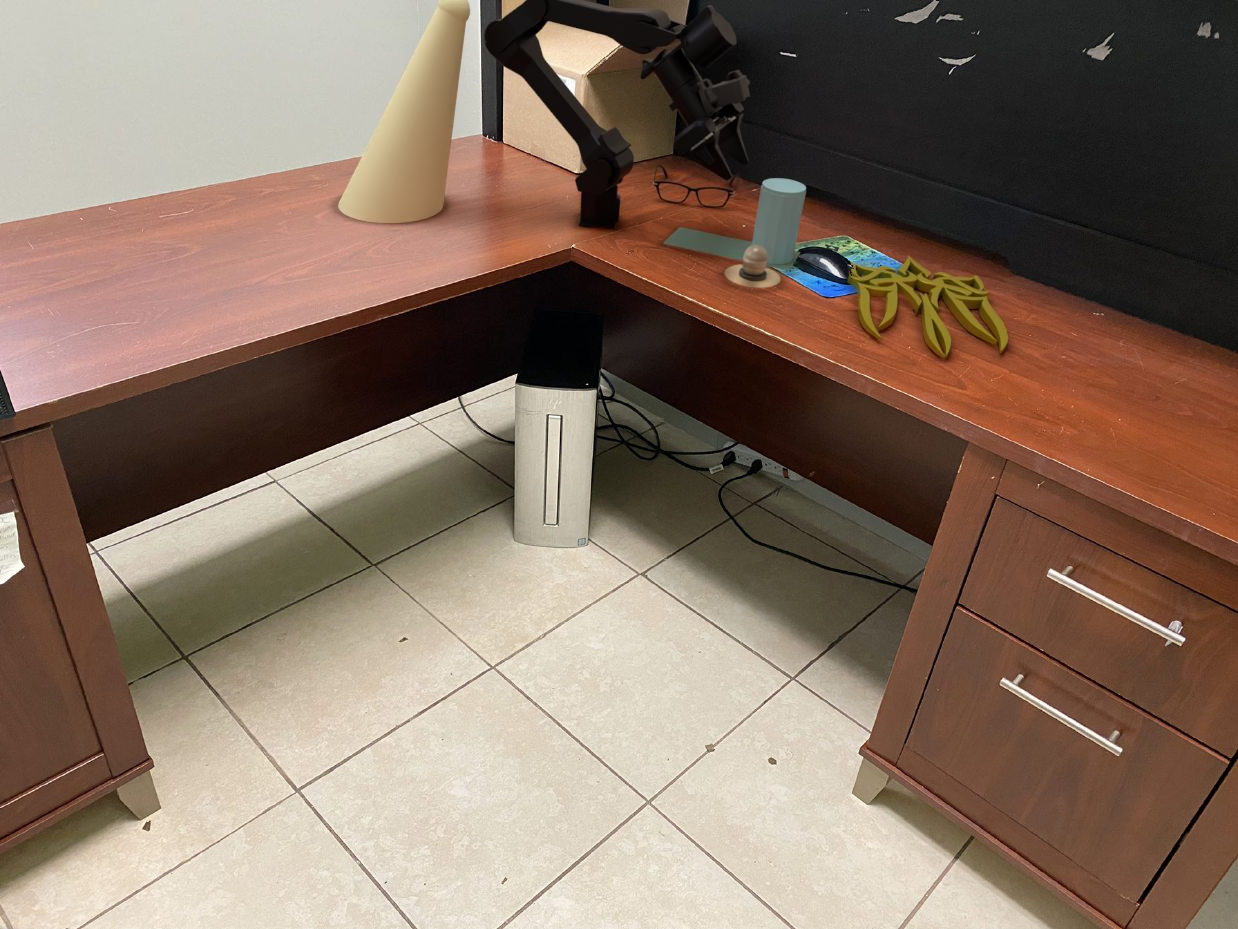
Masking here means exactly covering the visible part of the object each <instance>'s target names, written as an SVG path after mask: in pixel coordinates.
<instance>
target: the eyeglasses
mask: <svg viewBox="0 0 1238 929" xmlns="http://www.w3.org/2000/svg"><path fill="white" fill-rule="evenodd" d="M658 167H659V168H661V169H662V171H663V175H664V178H665V179H666V178H668V177H669V175H668V172H667V170H666V168H665V167H664V166H663V165H660V164H658V165H657V166H655V171H654V176H653V181H652V184H653V186H654V187H655V190H656V192H657V195H658V197H659V199H660V200H661V201H664V202H666V203H669V204H670V203H671V204H683V203H684V202H685V201H686V200H687V199H688V198H689V197H690V194H691V192H695V199H696V200H697V201H698V203H699V205H700V206H702V207H706V208H715V209H716V208H723V207H725V205H726V204H727V203H728V202H729V199H730V198H731V197H732V196H733V195H734V194H735V192H736V190H737V187H738V184H739V181H740V177H741V176H740V174H739V173H738V174H737V173H736V174H735V175H733V176H732V178H731V179H730V180H729V182H728V185H729V186H732V185H733V182H734V181H735V179H736V178H737V177H738V178H737V182H736V184H735V187H734V189H730V188H726V187H718V186H702V187H696V188H695V187H694V188H693V187H690V186H688V185H685V184H682V183H679V182H674V181H668V180H656V177H657V176H656V175H657V171H658V170H657V169H658ZM661 184H670V185H676V186H679V187H681V188H684V189H687V194H686V196H685V197H684V198H683V200H681V201H672V200H667V199H665V198H662V194H661V193H660V185H661ZM702 190H720V191H723V192H727V197H726V200H725V201H724V203H723V204H722V205H716V206H715V205H706V204H703V203H702V201H701V199H700V197H699V191H702Z"/></svg>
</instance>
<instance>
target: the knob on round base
mask: <svg viewBox="0 0 1238 929" xmlns="http://www.w3.org/2000/svg"><path fill="white" fill-rule="evenodd" d="M767 259H768V254H767V251H766V249H765V248H764V247H762V246H760V245H752V246H750V247H748V248H747V249H746V251H745V253H744V256H743V261H741V262H742V264H741V263H740V264H734V265H731V266H728V267H727V268H726V269H725V270H724V272H723V274H724V277H725V278H726V280H728V281H729V282H731V283H733V284H735V285H738V286H741V287H746V288H751V289H768V288H773V287H776V286H778V285H779V284H780V283H781V276H780V274H779V273H778V272H776V271H775V270H773V269H771V268H769V267H767V266H766V265H767Z"/></svg>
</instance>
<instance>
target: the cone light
mask: <svg viewBox="0 0 1238 929" xmlns="http://www.w3.org/2000/svg"><path fill="white" fill-rule="evenodd" d="M470 15H471V6H470V2H469V1H468V0H438V2H437V7H436V9H435V11H434V13H433V15H432V17H430V18H431V19H430V20H429V22H428V24H427V26H426V29H425V30H424V32H423V34H422V36H421V38H420V40H419V42H418V44H417V46H416V48H415V50H414V52H413V54H412V56H411V58H410V60H409V62H408V64H407V66H406V68H405V69H404V72H403V74H402V76H401V79H400V80H399V82H398V84H397V87H396V88H395V90H394V92H393V94H392V96H391V97H390V100H389V102H388V104H387V106H386V108H385V110H384V112H383V114H382V116H381V118H380V120H379V122H378V124H377V126H376V128H375V130H374V132H373V134H372V136H371V138H370V140H369V142H368V144H367V145H366V148H365V149H364V151H363V154H362V156H361V158H360V160H359V162H358V164H357V165H356V168H355V170H354V172H353V174H352V176H351V177H350V179H349V181H348V183H347V186H346V187H345V189H344V192H343V194H342V196H341V198H340V199H339V202H338V205H337V208H338V210H339V212H341V213H342V214H343V215H345V216H347V217H348V218H352V219H354V220H358V221H363V222H369V223H374V224H404V223H412V222H418V221H423V220H426V219H428V218H431V217H433V216H435V215H437V214H439V213H440V212H441V211H442V210H443V208H444V203H445V194H446V187H447V179H448V172H449V171H448V170H449V162H450V155H451V149H452V148H451V147H452V138H453V130H454V123H455V115H456V107H457V98H458V91H459V84H460V83H459V82H460V75H461V67H462V58H463V51H464V42H465V36H466V35H465V33H466V27H467V22H468V20H469V18H470Z"/></svg>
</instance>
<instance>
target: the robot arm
mask: <svg viewBox="0 0 1238 929" xmlns="http://www.w3.org/2000/svg"><path fill="white" fill-rule="evenodd" d="M548 22H550V23H554V24H557V25H562V26H566V27H570V28H574V29H578V30H581V31H585V32H590V33H594V34H598V35H601V36H605V37H608V38H610V39H611V40H613V41H614V42H615V43H617V44H618V45H619V46H621V47H623V48H625V49H627V50H630V51H632V52H634V53H635V54H639V55H647V54H650V53H652V52H655V51H657V50H660V49H662V48H664V47H668V46H670V45H673V44H675V43H677V42H680V44H678V45H677V46H676V47H675V48H673V49H672V50H670V49H668V48H664V49H663V50H661V51H660V52H659V53H658V54H657V55H655V56H654V57H653V58H649V57H647V58H645V59H643V60H642V61H641V64H642V65H641V71H640V75H639V78H640V80H643V81H644V80H645V79H647V78H649V77H652V75H654V77H655V78H656V80H657V81H658V83H659V84H660V86H661V88H662V89H663V90H664V92H665V93H666V95H667V97H668V98H669V100H670V102H671V103H670V104H669V105H668V107H669V109H670V110H671V111H672V112H674V111H677V112H678V114H679V115H680V117H681V119H682V120H683V122H684V123H685V125H686V126H684V127H683V130H682V131H681V132H679V133H678V134H676V135H675V136H674V137H673V145H672V147H673V148H674V150H675V151H676V153H677V154H678V156H679V157H681V156H682V155H684V154H685V153H686V152H688V151H689V150H690V152H688V153H686V154H685V155H684V158H685V159H689V160H691V161H693V162H694V163H697V164H698V165H700V166H702V167H704V168H705V169H707V170H708V171H710V172H711V173H713V174H715V175H716V176H718V177H720V178H721V179H723V180H725V181H726V182H727V181H730V180H731V179H732V178H733V175H732V171H731V169H730V167H729V165H728V163H727V161H726V159H725V157H724V155H723V153H722V150H723V151H725V153H727V154H728V155H729V156H730V157H732V159H734V160H735V161H736V162H737V163H738V164H740V165H741V166H743V167H744V166H745V167H746V165H748V164H749V163H750V161H749V157H748V153H747V150H746V147H745V143H744V140H743V137H742V133H741V123H742V119H743V117H744V113H741V112H743V111H744V110H745V108H744V106H743V104H742V102H744V101H746V99H747V98H750V97H751V94H750V88H749V86H750V85H751V81H750V80H749V79H748V78H747V75H746V74H745V75H743V72H741V70H739V69H737V70H732V71H729V73H727V74H726V78H725V81H722V82H719V83H716V84H713V82H712V80H711V79H710V78H707V77H705V78H702V76H701V75H700V73H699V72H698V70H697V69H696V67H699V66H700V67H702V68H703V69H704V68H705V69H707V68H709V67H710V65H712V64H713V63H714V62H716V61H717V60H718V59H720V58H721V57H723V55H724V54H725V53H727V52H728V51H730V50H731V49H732V48H733V47H734V46H736V45H737V36H736V33H735V31H734V29H733V27H732V25H731V24H730V22H729V21H728V20H726V19H725V18H724V17H723V15H721V14H720V13H719V12H717V11H716V10H715V8H714V6H713V5H711V4H710V5H708V6H705V7H704V8H703V9H701V11H700V12H699V13H698V14H697V16H696V17H695V18H694V19H692V20H691V21H690V22H689V23H688V24H684V23H681V22H678V21H676V20H673V19H671V18H670V17H669V14H668V13H667V12H666V11H664V10H663V9H661V8H650V7H632V8H631V7H630V8H628V7H627V8H621V7H619V8H617V7H614V6H610V5H605V4H601V3H596V2H593V1H589V0H524V1H523V3H521V4H519V5H518V6H517V7H515V8H514V9H513V10H511V11H510V12H508V13H507V14H506V15H505V16H503V17H502V18H499V19H495V20H492V21H491V22H489V23H488V24H487V26H486V28H485V29H484V35H483V38H484V41H483V45H484V46H485V47H484V48H485V49H486V50H487V52H488V53H489V55H490V56H492V57H493V58H494V59H495V60H496V61H497V62H498V63H499V64H500V65H502V66H503V67H504V68H505V69H507V70H509V71H511V72H513V73H515V74H516V75H517V76H520V77H521V78H522V79H523V80H524V81H525V82H526V84H527V85H528V86H529V87H530V89H532V91H533V92H534V93H535V95H536V96H537V97H538V98H539V99H540V101H541V102H542V103H543V105H544V106H545V107H546V109H548V110H549V112H550V113H551V114H552V116H553V117H554V118H555V119H556V120H557V122H558V123H559V124H560V125H561V126H562V127H563V129H564V130H565V132H567V134H568V136H570V138H571V139H572V140H573V141H574V142H575V143H576V145H577V148H578V150H579V155H580V158H581V162H582V164H583V165H584V168H585V170H584V171H583V172H581V173H580V174H579V175H578V176H577V177H575V179H574V182H575V186H576V189H577V192H579V193H580V210H579V211H580V215H579V220H578V227H579V226H580V227H588V228H590V227H591V228H601V229H616V227H617V226H616V225H617V223H619V222H620V213H621V212H620V211H621V198H622V197H621V194H619V193H618V192H619V186H618V185H620V184H621V183H622V182H623V180H624V177H626V176H628V175H629V174H630V173H631V171H632V170H633V167H634V164H635V163H634V162H635V161H634V159H635V156H634V153H633V151H632V149H631V148H630V147H631V146H632V143H630V142H628V140H626V139H625V138H624V136H623V135H622V133H621V131H620V130H619V129H618V127H616V126H614V127H612V128H610V129H608V130H606V129H605V128H603V127H601V126H600V125H599V124H598V123H597V121H595V118H593V116H592V115H591V114H590V113H589V112H588V111H587V109H586V108H585V107H584V106H583V104H582V103H581V102H580V101H579V99H578V98H577V97H576V96H575V94H574V93H573V92H572V91H571V90H570V89H569V87H568V86H567V85H566V84H565V82H564V81H563V79H562V78H561V77H560V76H559V75H558V73H557V72H556V71H555V70H554V69H553V67H552V66H551V65H550V63H549V62H548V61H547V60H546V59H545V57H544V54H543V50H542V47H541V43H540V39H539V38H538V37H537V34H538V33H540V32H541V31H542V30H543V28H544V27H545V26H546V25H547V24H548ZM739 114H740V115H739ZM737 115H738V116H737ZM736 116H737V117H736ZM721 149H722V150H721Z"/></svg>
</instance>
